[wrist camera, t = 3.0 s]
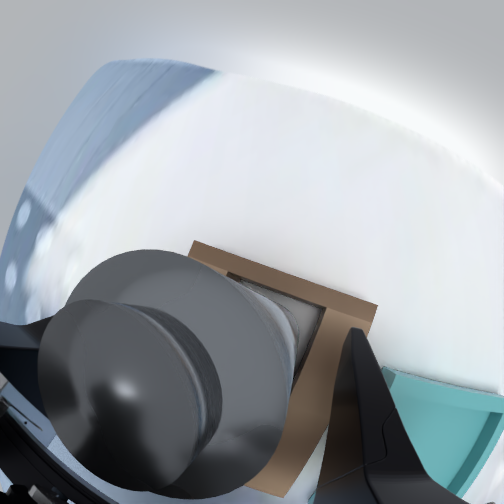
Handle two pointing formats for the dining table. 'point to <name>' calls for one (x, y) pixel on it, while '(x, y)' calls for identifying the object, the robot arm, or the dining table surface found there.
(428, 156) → the dining table surface
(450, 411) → the tray
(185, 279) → the grey capped bottle
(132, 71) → the dining table surface
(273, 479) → the socket block
